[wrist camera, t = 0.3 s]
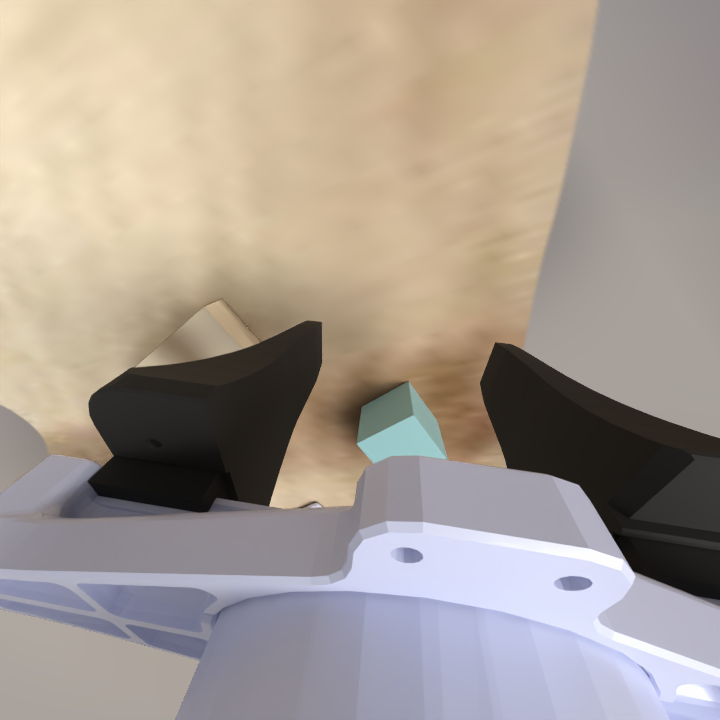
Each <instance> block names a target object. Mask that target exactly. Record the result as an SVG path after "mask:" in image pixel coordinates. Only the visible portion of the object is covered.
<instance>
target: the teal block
mask: <svg viewBox="0 0 720 720" xmlns="http://www.w3.org/2000/svg"><path fill="white" fill-rule="evenodd" d="M357 445H358V446H359V447H360V448H361V449H362V451H363V452H364V453H365V454H366V455H367V456H368V457H369V459H370V460H371V461H372V462H373V463H374V464H375V463H377V462H379V461H381V460H384V459H386V458H388V457H390V456H414V455H418V456H425V457H432V458H439V459H446V460H448V459H447V455H446V451H445V448H444V444H443V440H442V437H441V433H440V429H439V426H438V422H437V420H436V419H435V417H434V416H433V414H432V413H431V412H430V410H429V409H428V407H427V406H426V405H425V403H424V402H423V401H422V399H421V398H420V396H419V395H418V394H417V392H416V391H415V389H414V388H413V387H412V385H411V384H410V382H409V381H408V382H406V383H404V384H402V385H401V386H399V387H397V388H395V389H393V390H391V391H390V392H388V393H386V394H384V395H382V396H381V397H379V398H377V399H375V400H373V401H372V402H370V403H368V404H366V405H364V406H363V407H362V409H361V416H360V423H359V430H358V437H357Z"/></svg>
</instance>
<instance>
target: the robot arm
mask: <svg viewBox="0 0 720 720" xmlns="http://www.w3.org/2000/svg"><path fill="white" fill-rule="evenodd" d="M321 364H322V322H315V321H305V322H303V323H300V324H298V325H296V326H294V327H292V328H290V329H288V330H286V331H284V332H282V333H280V334H278V335H276V336H274V337H272V338H269V339H267V340H265V341H263V342H260V343H258V344H255V345H253V346H250V347H247V348H244V349H241V350H238V351H235V352H231V353H227V354H223V355H219V356H215V357H211V358H206V359H201V360H196V361H190V362H183V363H176V364H168V365H157V366H147V367H134V368H130V369H128V370H127V371H125V372H124V373H123V374H121V375H120V376H118V377H117V378H115V379H114V380H112V381H111V382H109V383H108V384H106V385H105V386H103V387H102V388H100V389H99V390H98V391H96V392H95V393H94V394H93V395H91V398H90V401H89V413H90V417H91V419H92V421H93V423H94V425H95V427H96V428H97V430H98V431H99V433H100V435H101V436H102V438H103V439H104V441H105V443H106V444H107V446H108V447H109V449H110V451H111V452H112V454H113V455H114V457H112V458H111V459H110V460H109V461H108V462H107V463H106V464H105V465H104V466H102V465H101V464H99V463H97V462H96V461H93V460H90V459H84V458H78V457H71V456H65V455H59V454H51V455H49V456H48V457H47V458H45V459H44V460H43V461H41V462H40V463H39V464H38V465H36V466H35V467H34V468H32V469H31V470H30V471H28V472H27V473H26V474H24V475H23V476H22V477H21V478H19V479H18V480H17V481H15V482H14V483H13V484H11V485H10V486H9V487H8V488H6V489H5V490H4V491H2V492H1V493H0V610H5V611H10V612H15V613H19V614H24V615H28V616H33V617H38V618H42V619H46V620H50V621H54V622H58V623H62V624H67V625H71V626H74V627H78V628H82V629H86V630H90V631H93V632H97V633H101V634H105V635H108V636H112V637H116V638H120V639H123V640H126V641H130V642H134V643H137V644H141V645H144V646H148V647H152V648H155V649H159V650H162V651H166V652H170V653H173V654H177V655H181V656H184V657H188V658H192V659H195V660H199V661H200V662H199V664H198V667H197V669H196V671H195V674H194V676H193V678H192V681H191V683H190V685H189V688H188V690H187V693H186V695H185V697H184V700H183V702H182V704H181V707H180V709H179V712H178V714H177V716H176V719H175V720H720V438H717V437H713V436H710V435H707V434H704V433H700V432H698V431H694V430H692V429H688V428H686V427H683V426H679V425H677V424H674V423H671V422H668V421H665V420H662V419H659V418H657V417H654V416H651V415H649V414H647V413H644V412H642V411H639V410H636V409H634V408H631V407H629V406H626V405H624V404H621V403H620V402H617V401H615V400H613V399H610V398H608V397H606V396H604V395H602V394H600V393H598V392H596V391H594V390H592V389H590V388H587V387H586V386H584V385H582V384H580V383H578V382H576V381H574V380H573V379H571V378H569V377H567V376H565V375H564V374H562V373H560V372H559V371H557V370H555V369H554V368H552V367H550V366H548V365H547V364H545V363H544V362H542V361H540V360H539V359H537V358H535V357H534V356H532V355H530V354H529V353H527V352H525V351H524V350H522V349H520V348H518V347H516V346H514V345H512V344H505V343H496V342H495V345H494V347H493V350H492V353H491V355H490V358H489V361H488V363H487V366H486V368H485V371H484V374H483V376H482V379H481V382H480V385H481V391H482V396H483V400H484V404H485V407H486V409H487V412H488V415H489V417H490V420H491V423H492V425H493V428H494V430H495V433H496V436H497V438H498V441H499V443H500V446H501V449H502V452H503V455H504V458H505V461H506V465H507V468H501V467H494V466H487V465H480V464H473V463H466V462H459V461H453V460H446V459H439V458H432V457H425V456H418V455H414V456H390V457H388V458H386V459H384V460H381V461H379V462H377V463H375V464H372V465H370V466H368V467H366V469H365V470H364V472H363V474H362V475H361V477H360V479H359V481H358V482H357V488H356V495H355V502H354V505H353V506H339V507H322V506H321V505H320V504H318V503H313V504H311V505H309V506H307V507H305V508H293V509H281V508H275V507H269V504H270V501H271V497H272V494H273V491H274V487H275V484H276V481H277V478H278V474H279V471H280V468H281V465H282V462H283V459H284V456H285V453H286V450H287V447H288V444H289V441H290V438H291V435H292V432H293V430H294V427H295V425H296V422H297V420H298V418H299V416H300V414H301V412H302V410H303V408H304V406H305V403H306V401H307V399H308V397H309V395H310V393H311V391H312V389H313V387H314V385H315V383H316V380H317V377H318V374H319V371H320V368H321Z"/></svg>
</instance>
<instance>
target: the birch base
mask: <svg viewBox="0 0 720 720" xmlns="http://www.w3.org/2000/svg"><path fill="white" fill-rule="evenodd" d="M258 343H260V342H259V340H258V339H257V338H256V337H255V336H254V335H253V334H252V333H251V331H250V330H249V329H248V328H247V327H246V326H245V325H244V323H243V322H242V321H241V320H240V319H239V318H238V317H237V316H236V314H235V313H234V312H233V311H232V310H231V309H230V308H229V307H228V305H227V304H226V303H225V302H224V301H223V300H222V299H221V300H219V301H217V302H214V303H212V304H209V305H207V306H204V307H203V308H202V309H200V310H199V311H198V312H197V313H196V314H195V315H194V316H192V317H191V318H190V319H189V320H188V321H187V322H186V323H185V324H183V325H182V326H181V327H180V328H179V329H178V330H177V331H175V332H174V333H173V334H172V335H171V336H170V337H169V338H168V339H166V340H165V341H164V342H163V343H162V344H161V345H160V346H158V347H157V348H156V349H155V350H154V351H153V352H152V353H150V354H149V355H148V356H147V357H146V358H145V359H144V360H143V361H141V362H140V363H139V364H138V365H137V366H136V367H147V366H157V365H168V364H176V363H183V362H190V361H196V360H201V359H206V358H211V357H215V356H219V355H223V354H227V353H231V352H235V351H238V350H241V349H244V348H247V347H250V346H253V345H255V344H258Z"/></svg>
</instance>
